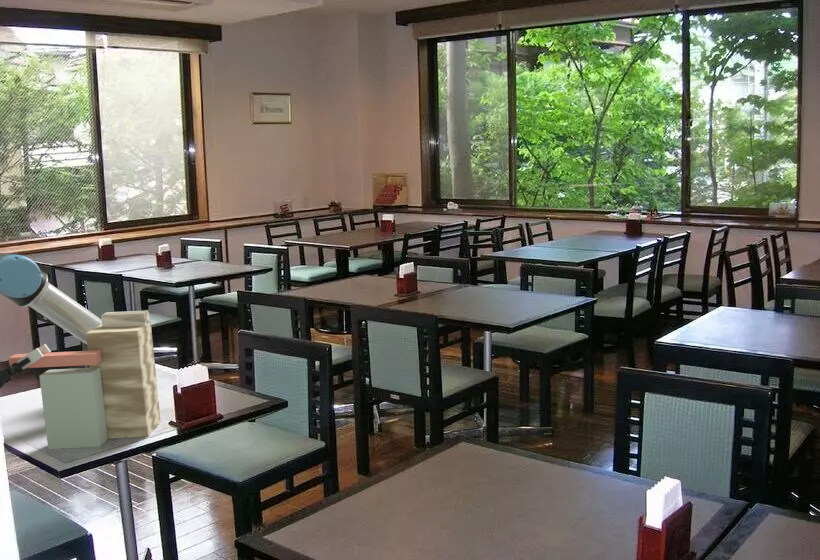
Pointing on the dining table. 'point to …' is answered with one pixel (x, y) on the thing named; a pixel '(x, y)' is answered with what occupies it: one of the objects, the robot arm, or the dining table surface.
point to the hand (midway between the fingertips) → (43, 350)
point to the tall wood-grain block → (127, 373)
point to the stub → (62, 359)
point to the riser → (73, 408)
